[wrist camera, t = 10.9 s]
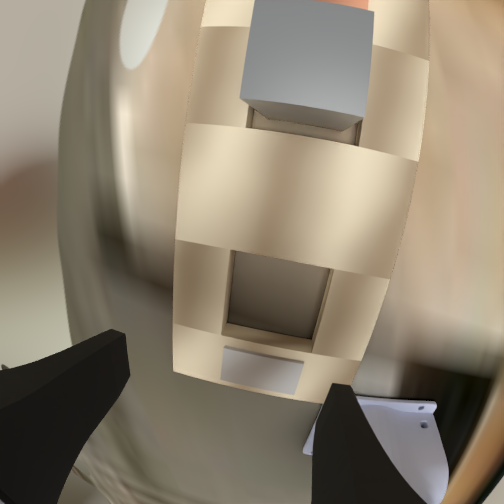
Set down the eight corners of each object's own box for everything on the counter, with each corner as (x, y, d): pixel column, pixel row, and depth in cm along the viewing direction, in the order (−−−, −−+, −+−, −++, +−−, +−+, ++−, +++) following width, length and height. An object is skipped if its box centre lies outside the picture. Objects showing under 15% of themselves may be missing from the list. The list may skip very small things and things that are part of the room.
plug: (350, 63, 14) (374, 11, 7) (342, 131, 15) (364, 117, 9) (277, 51, 14) (255, -5, 8) (268, 119, 16) (239, 97, 9)
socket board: (421, 9, 11) (430, -3, 10) (340, 391, 20) (341, 408, 19) (220, -20, 13) (211, -33, 11) (180, 358, 22) (171, 373, 20)
